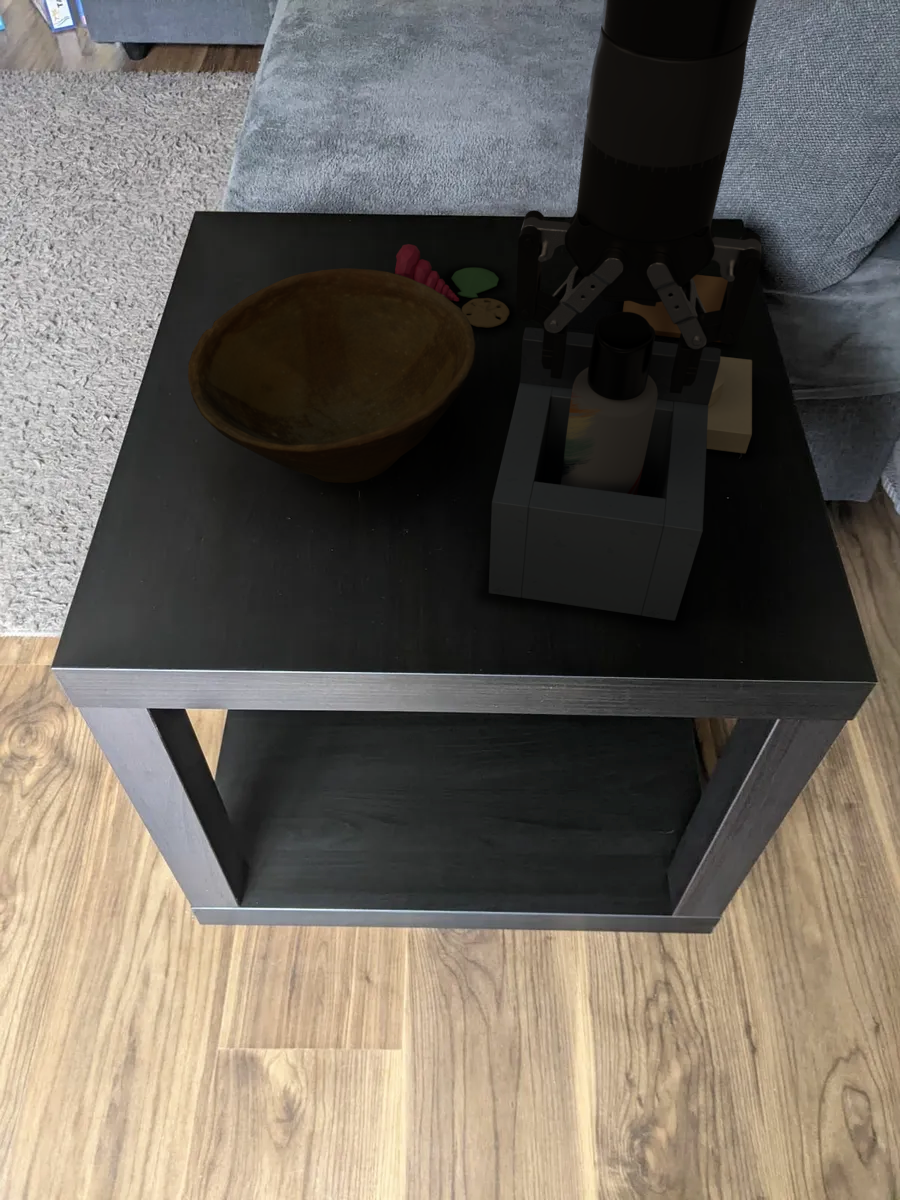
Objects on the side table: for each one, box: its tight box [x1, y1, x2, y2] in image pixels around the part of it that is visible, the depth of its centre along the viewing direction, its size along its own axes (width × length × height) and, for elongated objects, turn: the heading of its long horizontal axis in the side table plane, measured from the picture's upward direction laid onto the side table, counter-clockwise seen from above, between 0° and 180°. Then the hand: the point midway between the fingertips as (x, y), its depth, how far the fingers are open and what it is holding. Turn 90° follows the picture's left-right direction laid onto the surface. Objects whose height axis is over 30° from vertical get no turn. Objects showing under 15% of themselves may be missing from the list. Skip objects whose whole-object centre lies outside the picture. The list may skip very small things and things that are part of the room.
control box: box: [706, 355, 753, 454], centre depth 82 cm, size 12×10×4 cm
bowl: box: [187, 267, 477, 484], centre depth 77 cm, size 22×23×10 cm
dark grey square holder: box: [488, 326, 722, 622], centre depth 68 cm, size 14×14×14 cm
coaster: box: [622, 274, 728, 344], centre depth 92 cm, size 10×10×1 cm
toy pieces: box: [394, 243, 510, 329], centre depth 92 cm, size 12×11×4 cm
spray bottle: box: [561, 311, 658, 495], centre depth 66 cm, size 6×6×20 cm
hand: (616, 377), depth 61 cm, fingers open, 7 cm apart
